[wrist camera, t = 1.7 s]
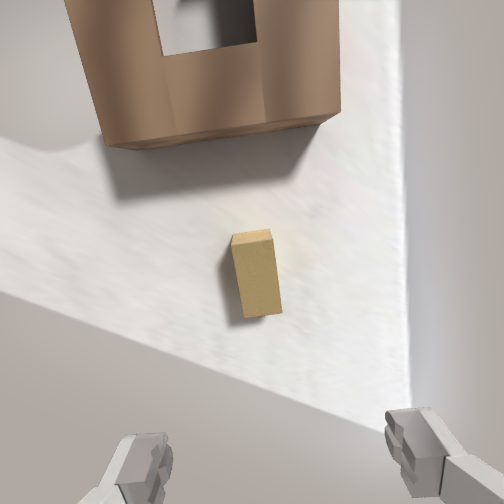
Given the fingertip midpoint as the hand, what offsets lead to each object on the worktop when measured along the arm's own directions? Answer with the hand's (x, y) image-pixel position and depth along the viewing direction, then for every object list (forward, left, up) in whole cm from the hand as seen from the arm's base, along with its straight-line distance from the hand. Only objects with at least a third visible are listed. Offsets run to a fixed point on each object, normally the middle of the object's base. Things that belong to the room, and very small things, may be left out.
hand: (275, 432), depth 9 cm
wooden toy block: (0, 0, -17) cm, 17 cm away
